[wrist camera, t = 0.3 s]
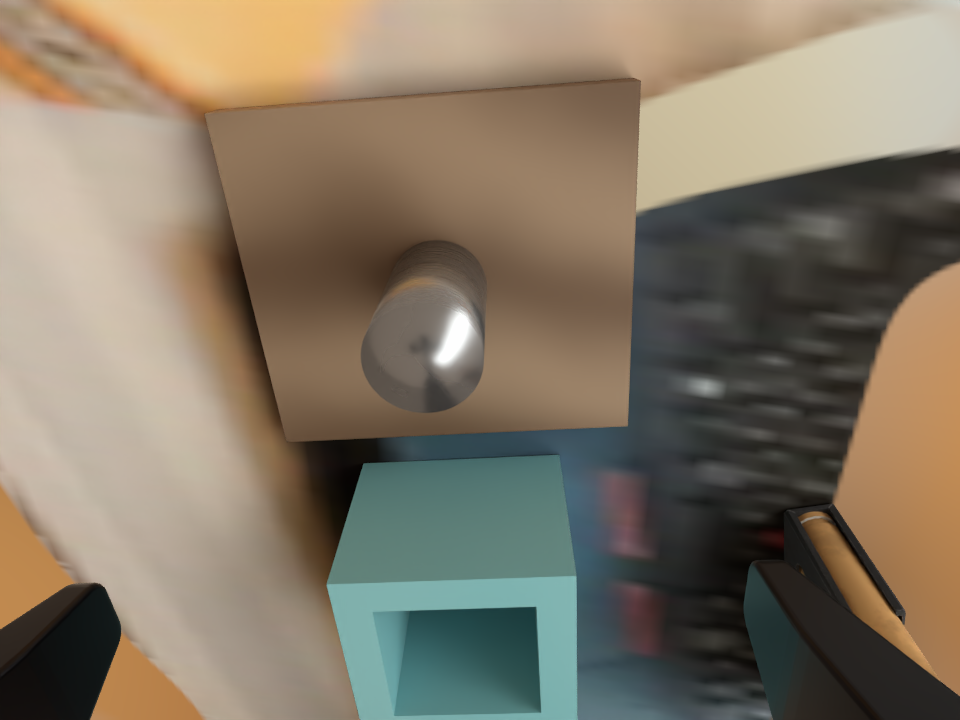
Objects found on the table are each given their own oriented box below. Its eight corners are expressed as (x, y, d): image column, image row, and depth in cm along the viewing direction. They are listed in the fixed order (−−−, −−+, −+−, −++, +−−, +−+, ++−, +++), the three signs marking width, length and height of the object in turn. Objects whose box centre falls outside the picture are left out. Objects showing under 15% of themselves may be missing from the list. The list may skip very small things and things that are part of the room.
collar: (562, 597, 28) (577, 734, 22) (389, 603, 28) (364, 738, 23) (559, 454, 24) (576, 575, 19) (363, 463, 25) (326, 584, 19)
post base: (622, 410, 23) (659, 525, 18) (294, 426, 24) (236, 541, 19) (633, 78, 18) (689, 100, 13) (217, 109, 19) (108, 143, 14)
